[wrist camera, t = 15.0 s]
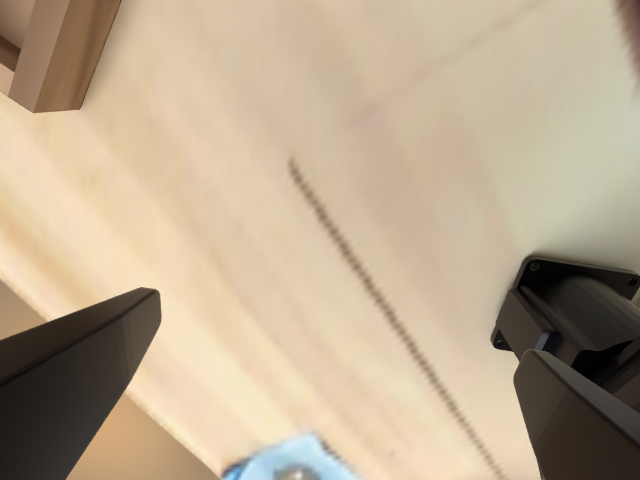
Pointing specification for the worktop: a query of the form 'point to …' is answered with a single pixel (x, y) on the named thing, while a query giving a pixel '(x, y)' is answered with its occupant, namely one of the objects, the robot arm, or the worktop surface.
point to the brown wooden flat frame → (51, 50)
